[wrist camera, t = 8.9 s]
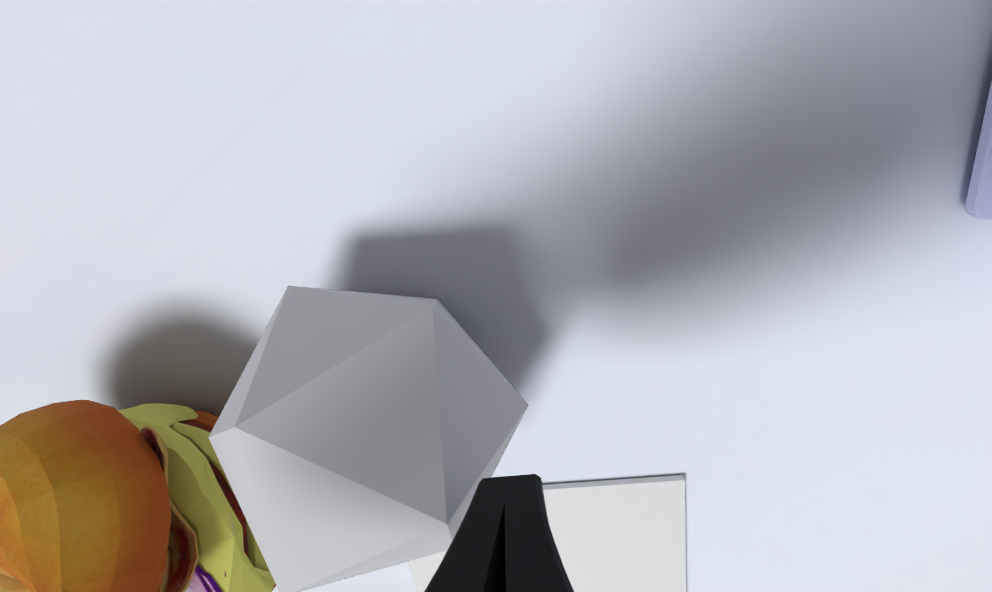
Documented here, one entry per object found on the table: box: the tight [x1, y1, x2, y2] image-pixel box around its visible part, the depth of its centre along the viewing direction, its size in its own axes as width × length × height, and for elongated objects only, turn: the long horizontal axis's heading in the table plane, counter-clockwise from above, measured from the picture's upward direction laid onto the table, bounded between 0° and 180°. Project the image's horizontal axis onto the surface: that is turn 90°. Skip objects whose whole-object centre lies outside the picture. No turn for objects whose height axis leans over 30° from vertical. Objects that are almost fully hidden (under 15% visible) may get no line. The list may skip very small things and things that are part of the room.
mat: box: [408, 475, 686, 592], centre depth 23 cm, size 13×12×1 cm
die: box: [208, 286, 528, 592], centre depth 15 cm, size 8×9×10 cm
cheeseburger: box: [0, 400, 276, 592], centre depth 17 cm, size 10×11×10 cm
